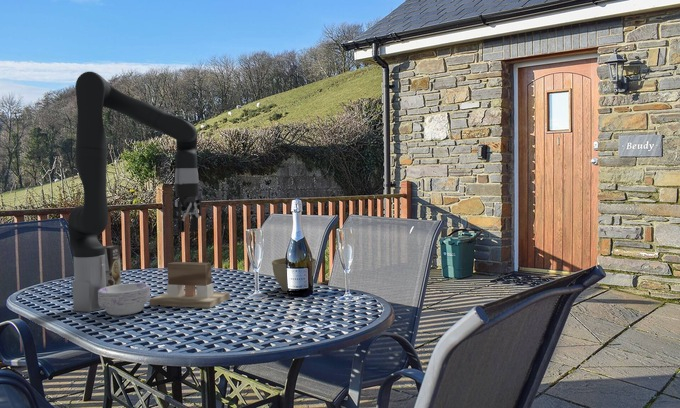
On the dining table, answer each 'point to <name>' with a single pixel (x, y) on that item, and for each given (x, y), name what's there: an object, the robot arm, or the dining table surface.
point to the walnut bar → (189, 273)
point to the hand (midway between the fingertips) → (188, 230)
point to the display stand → (190, 296)
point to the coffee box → (112, 265)
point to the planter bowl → (284, 271)
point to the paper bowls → (124, 298)
